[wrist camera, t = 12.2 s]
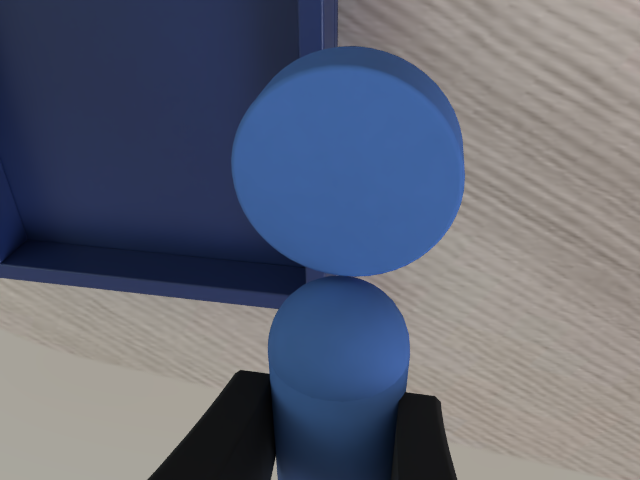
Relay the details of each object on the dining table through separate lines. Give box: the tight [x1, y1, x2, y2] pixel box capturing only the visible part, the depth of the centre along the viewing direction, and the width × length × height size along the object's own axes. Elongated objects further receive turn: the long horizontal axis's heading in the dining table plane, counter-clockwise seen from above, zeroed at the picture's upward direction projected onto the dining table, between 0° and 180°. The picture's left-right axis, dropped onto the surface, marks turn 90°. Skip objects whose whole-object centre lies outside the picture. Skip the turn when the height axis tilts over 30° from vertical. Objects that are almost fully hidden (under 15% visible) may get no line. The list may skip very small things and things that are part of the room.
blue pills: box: [231, 46, 465, 480], centre depth 10 cm, size 10×3×2 cm, turn 0°
